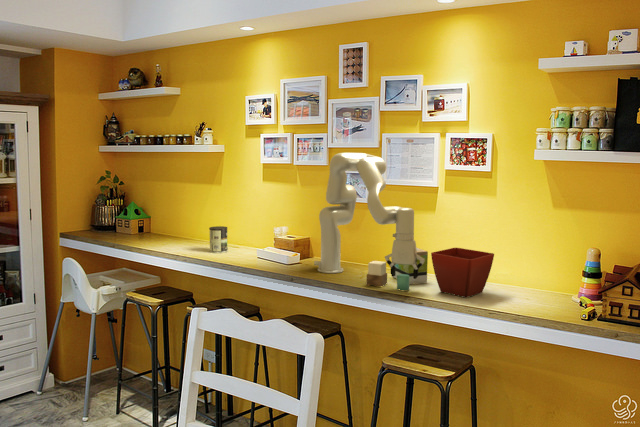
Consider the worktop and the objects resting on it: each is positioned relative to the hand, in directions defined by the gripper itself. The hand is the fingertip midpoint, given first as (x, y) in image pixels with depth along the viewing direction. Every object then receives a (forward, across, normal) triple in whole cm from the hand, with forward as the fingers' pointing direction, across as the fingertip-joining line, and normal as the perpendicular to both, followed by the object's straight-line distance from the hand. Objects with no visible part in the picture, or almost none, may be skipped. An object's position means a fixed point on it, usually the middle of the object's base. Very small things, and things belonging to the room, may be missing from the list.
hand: (404, 277), depth 234 cm
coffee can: (+3, -122, +33) cm, 127 cm away
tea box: (+6, -4, +18) cm, 19 cm away
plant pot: (+6, +22, +7) cm, 24 cm away
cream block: (0, -14, +3) cm, 14 cm away
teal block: (+5, -1, 0) cm, 5 cm away
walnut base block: (+5, -14, +3) cm, 15 cm away
